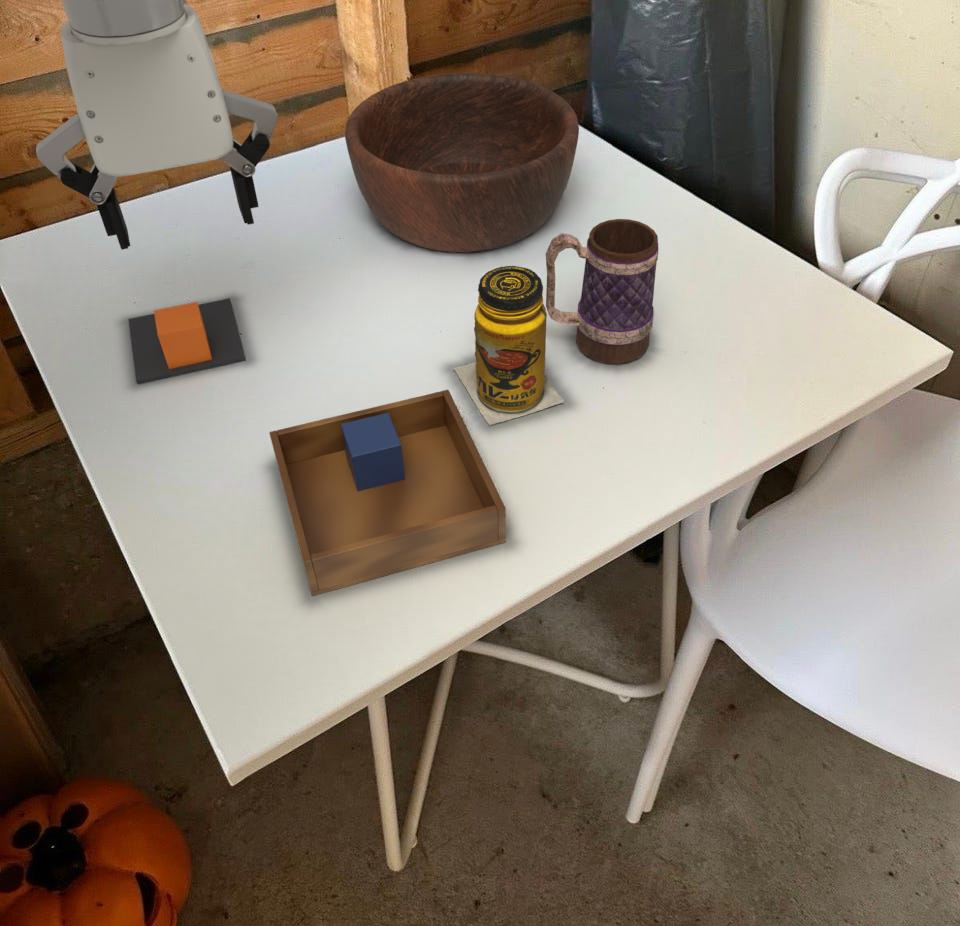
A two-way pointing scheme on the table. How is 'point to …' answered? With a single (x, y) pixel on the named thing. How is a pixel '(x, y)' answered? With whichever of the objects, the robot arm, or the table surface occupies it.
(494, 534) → the tray
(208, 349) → the orange cube
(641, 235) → the mug
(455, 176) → the wooden bowl
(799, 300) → the table surface
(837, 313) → the table surface
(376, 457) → the blue cube
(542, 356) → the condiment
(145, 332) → the mat
